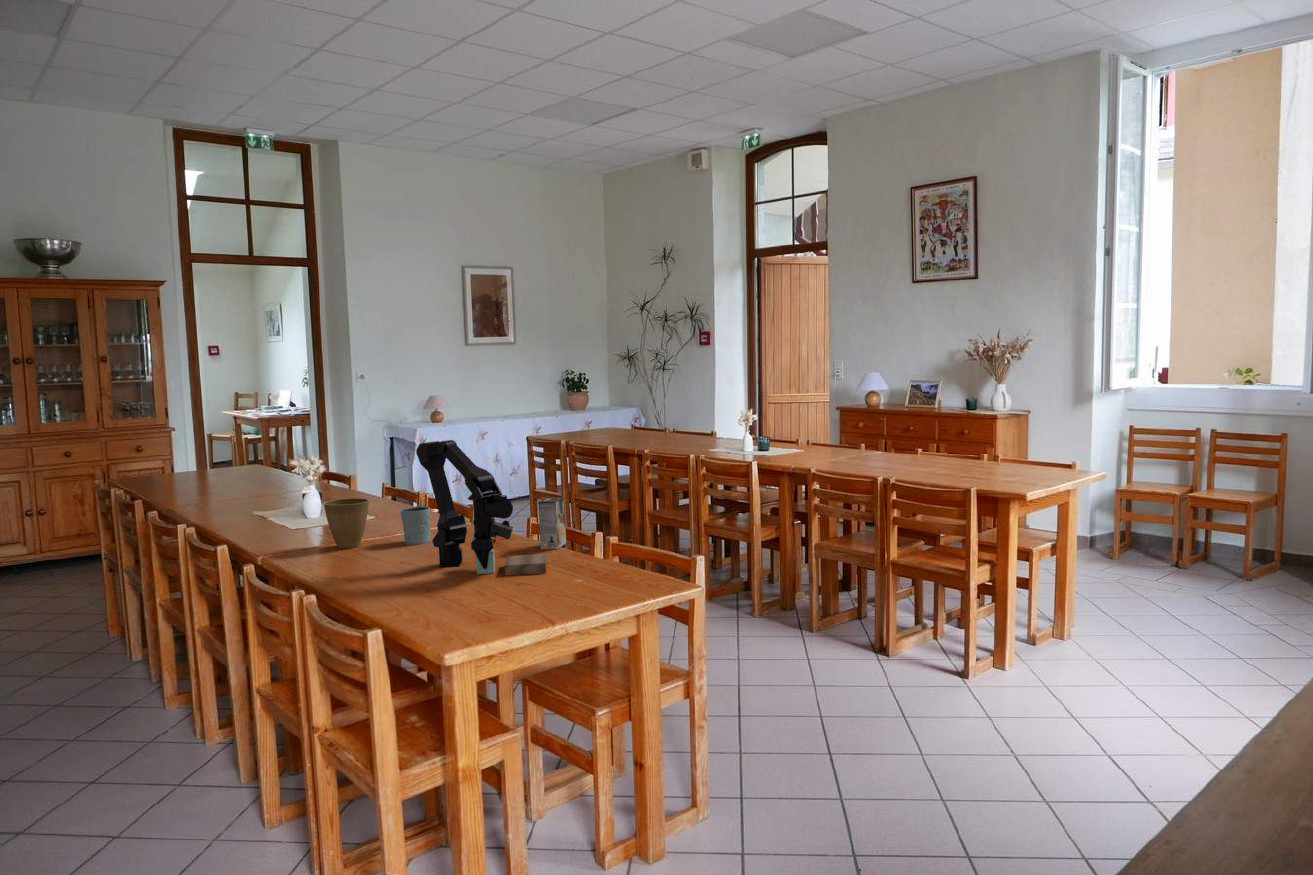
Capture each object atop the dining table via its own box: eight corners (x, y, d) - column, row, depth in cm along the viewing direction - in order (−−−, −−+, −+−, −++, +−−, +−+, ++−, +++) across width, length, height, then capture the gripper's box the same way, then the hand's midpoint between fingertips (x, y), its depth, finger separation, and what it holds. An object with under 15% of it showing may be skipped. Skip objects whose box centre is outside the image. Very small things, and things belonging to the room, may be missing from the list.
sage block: (477, 574, 261) (475, 554, 260) (478, 570, 266) (477, 550, 265) (494, 573, 261) (493, 553, 261) (495, 569, 266) (494, 549, 266)
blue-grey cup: (427, 544, 304) (425, 510, 303) (398, 545, 304) (396, 511, 303) (435, 538, 314) (433, 505, 313) (407, 539, 314) (405, 506, 313)
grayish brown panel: (505, 575, 258) (504, 565, 258) (507, 565, 270) (507, 556, 270) (546, 572, 260) (545, 563, 259) (546, 563, 272) (546, 553, 271)
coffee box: (548, 543, 301) (546, 496, 299) (566, 543, 299) (564, 497, 298) (540, 549, 292) (537, 501, 290) (558, 549, 290) (556, 501, 289)
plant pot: (353, 552, 296) (350, 505, 295) (317, 550, 301) (314, 504, 300) (380, 542, 310) (377, 498, 309) (345, 540, 315) (342, 497, 314)
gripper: (508, 519, 254) (511, 572, 255) (512, 508, 272) (514, 557, 274) (469, 521, 252) (472, 574, 254) (475, 510, 271) (478, 559, 272)
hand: (485, 566), depth 263 cm, fingers closed on sage block, 5 cm apart
